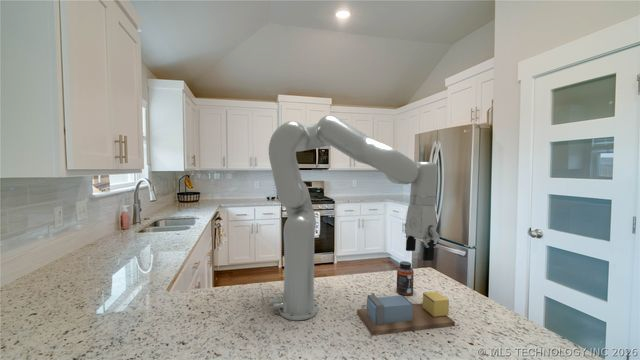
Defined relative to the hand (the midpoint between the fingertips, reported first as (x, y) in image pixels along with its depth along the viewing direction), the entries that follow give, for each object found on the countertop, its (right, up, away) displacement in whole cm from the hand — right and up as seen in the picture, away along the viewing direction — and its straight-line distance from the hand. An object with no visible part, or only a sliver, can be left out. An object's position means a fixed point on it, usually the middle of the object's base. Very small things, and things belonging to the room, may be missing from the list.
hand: (418, 255), depth 85 cm
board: (-6, -19, -3) cm, 20 cm away
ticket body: (-10, -18, -4) cm, 21 cm away
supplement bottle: (+1, -19, +16) cm, 25 cm away
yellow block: (+5, -18, 0) cm, 18 cm away
